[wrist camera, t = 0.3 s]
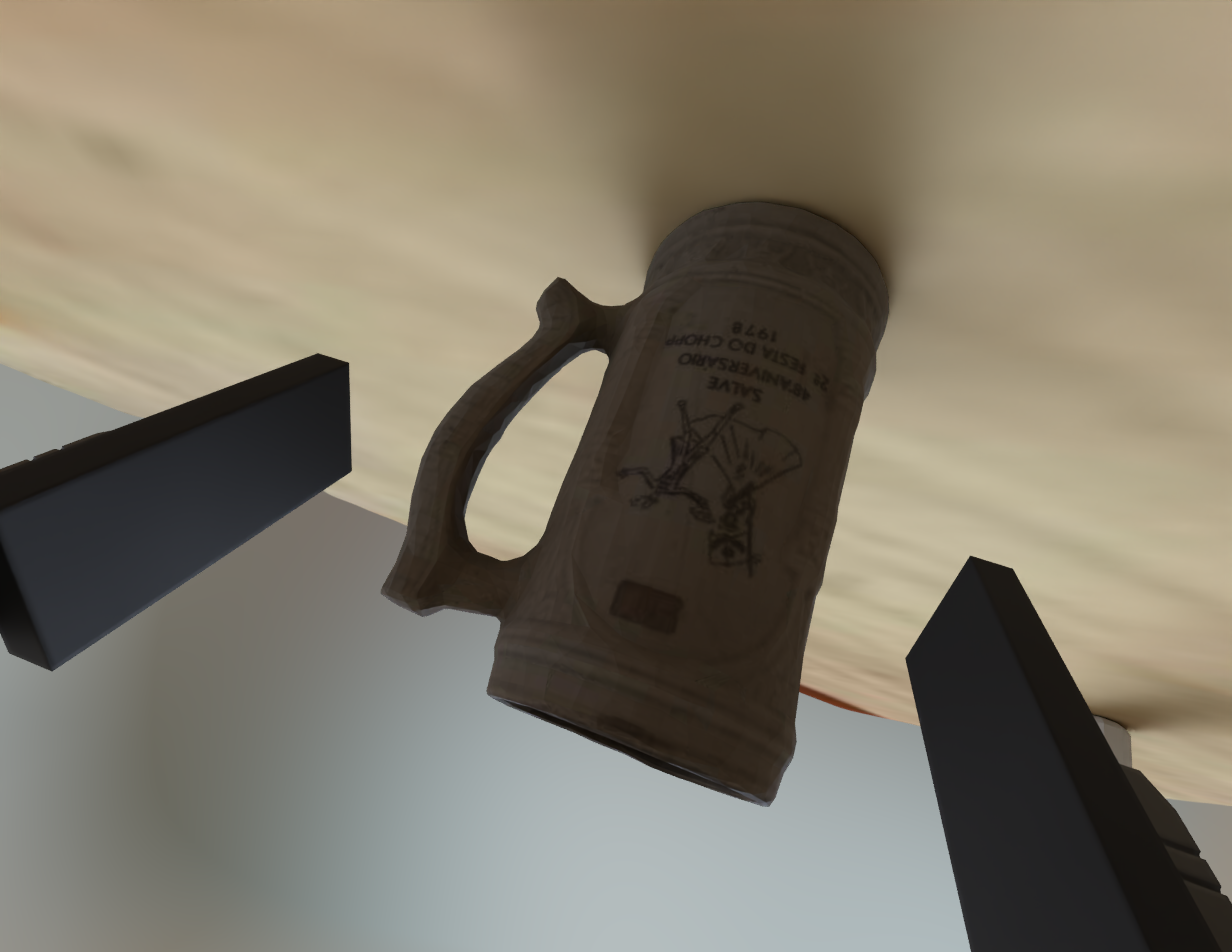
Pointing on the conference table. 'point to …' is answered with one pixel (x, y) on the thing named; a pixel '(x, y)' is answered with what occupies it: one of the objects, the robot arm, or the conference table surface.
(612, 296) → the conference table surface
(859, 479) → the conference table surface
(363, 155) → the conference table surface
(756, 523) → the beer stein
